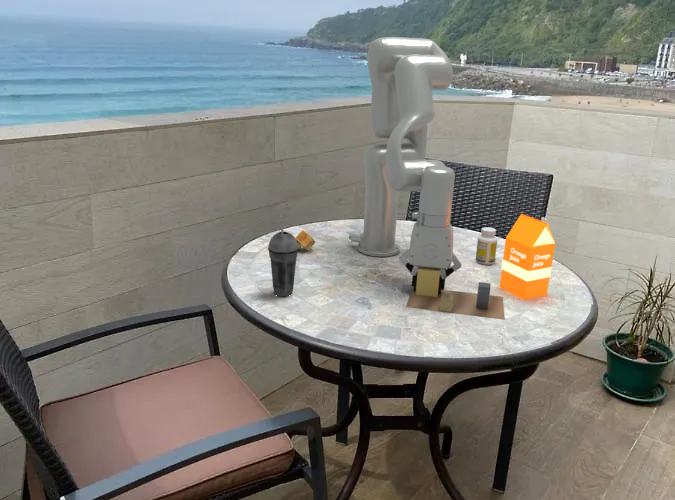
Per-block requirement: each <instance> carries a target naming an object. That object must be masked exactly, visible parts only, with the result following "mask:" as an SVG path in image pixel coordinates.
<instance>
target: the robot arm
mask: <svg viewBox="0 0 675 500" xmlns="http://www.w3.org/2000/svg"><path fill="white" fill-rule="evenodd" d="M366 58H367V61H366V62H367V69H368V74H369V79H370V82H371V84H370V85H371V99H370V100H371V101H370V102H371V103H370V130H371V133H372V135H373V136H374V137H375V138H378V139H387V142H386V143H385V142H384V143H383V142H382V143H376V144H375V143H374V144H372V145H370V146H368V147H367V148H366V150H365V151H364V154H363V166H364V167H363V168H364V176H365V188H364V190H365V193H364V194H365V195H364V212H363V213H364V214H363V215H364V216H363V230H362V231H363V232H362V233H359V234H356V233H349V235H348V240H350V242H352V243H353V242H354V243H358V244H357V250H358V252H359V253H362V254H363V255H366V256H371V257H378V258H380V257H381V258H384V257H385V258H386V257H392V256H396V255H398V254H399V253H400V252H401V248H400V246H399V244H397V243H396V234H397V232H396V231H397V219H398V216H397V215H398V205H399V204H398V201H399V192H401V193H402V192H404V193H405V192H419V202H418V211H415V212H413V211H412V212H411V219H415V220H416V222H414V224H413V226H412V231H411V235H410V236H411V237H410V242H409V248H408V249H407V250H406V251H405V252H404V253H403V254H402V255H401V256H400V257H399V262H400V263H401V264H402V265H403V266H404V267H405V268H406V269H407V271H408V272H409V273H410V275H411V285H410V286H411V287H412V286H414V291H416V285H417V273H418V267H419V266H420V267H429V268H438V269H440V278H439V287H438V294H441V290H445V285H446V279H447V277H449V276H450V275H452V274H453V273H454V272H456V271H458V270H459V269H461V268H462V262H461V261H460V260H459V258H458V257H457V256H456V254H455V253H454V227H453V225H452V224H451V218H452V207H453V200H454V198H453V197H454V188H455V177H456V174H455V171H454V169H453V168H451V167H449V166H446V165H445V163H444V162H442V161H441V160H439V159H426V156H427V141H428V125H429V123H431V122H432V121H433V120H434V118H435V108H434V107H435V106H434V101H433V92H432V91H445V90H447V89H449V87H450V86H451V85H452V82H453V77H454V70H453V66H452V65H453V64H452V62H451V60H450V59H449V57H448V55H447V54H446V53H445V51H443V49H442V48H441V47H440V46H439V45H438V44H437V43H436V42H435V41H434V40H432V39H429V38H423V37H422V38H420V37H406V36H405V37H404V36H403V37H402V36H384V37H378V38H376V39H374V40H372V41H371V43H370V44H369V47H368V51H367V57H366ZM404 139H406V143H405V142H403V141H404ZM452 264H453V265H452Z"/></svg>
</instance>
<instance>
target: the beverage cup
mask: <svg viewBox="0 0 675 500" xmlns="http://www.w3.org/2000/svg"><path fill="white" fill-rule="evenodd" d="M295 237H296V236H294V235H293V234H292V233H290V232H288V231H284V220H283V215H281V214H280V231H278V232H276V233H275V234H273V236H272V237H270V239H269V242H268V248H267V251H268V255H269V258H270V267H271V279H272V289H273V294H275V295H277V296H276V297H278V296H289V295H291V294H292V295H293V291H294V284H295V275H296V266H297V265H296V264H297V258H298V254H299V253H298V252H299V251H300V249H299V248H298V244H297V240H296V238H295ZM298 250H299V251H298ZM275 295H274V296H275ZM292 295H291V296H292ZM289 297H290V296H289Z"/></svg>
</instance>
